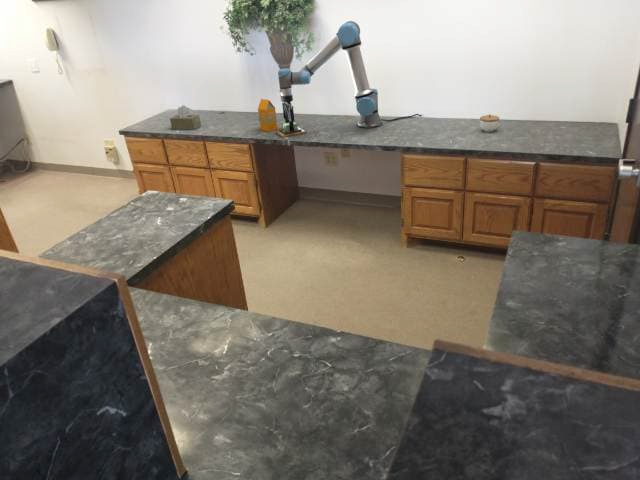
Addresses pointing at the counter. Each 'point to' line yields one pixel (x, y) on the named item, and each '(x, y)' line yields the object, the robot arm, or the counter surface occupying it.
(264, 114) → the orange juice
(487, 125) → the trinket box
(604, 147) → the counter surface
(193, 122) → the tissue box
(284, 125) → the pale green block
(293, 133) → the tan flat rectangular frame
